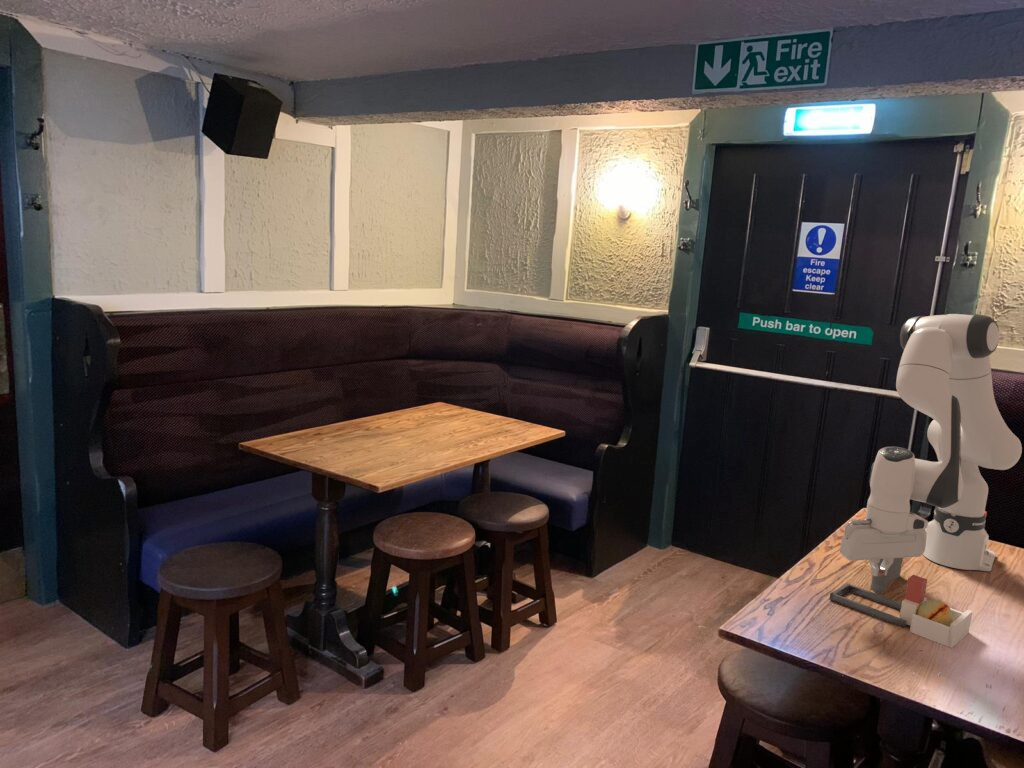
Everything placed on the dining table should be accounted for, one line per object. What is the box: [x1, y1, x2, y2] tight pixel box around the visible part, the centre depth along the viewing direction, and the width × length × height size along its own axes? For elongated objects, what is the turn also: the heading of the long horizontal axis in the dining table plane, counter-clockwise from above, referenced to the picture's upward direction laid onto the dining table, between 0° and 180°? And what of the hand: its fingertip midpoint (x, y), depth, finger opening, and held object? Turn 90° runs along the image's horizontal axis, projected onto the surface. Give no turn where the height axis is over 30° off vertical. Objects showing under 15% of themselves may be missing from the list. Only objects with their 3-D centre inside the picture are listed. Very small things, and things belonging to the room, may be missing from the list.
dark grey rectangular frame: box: [829, 583, 907, 629], centre depth 181 cm, size 9×17×2 cm, turn 43°
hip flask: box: [869, 558, 903, 594], centre depth 194 cm, size 16×4×20 cm, turn 138°
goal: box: [909, 607, 973, 649], centre depth 170 cm, size 11×8×5 cm
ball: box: [917, 599, 954, 627], centre depth 171 cm, size 7×7×7 cm
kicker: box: [899, 574, 928, 627], centre depth 174 cm, size 6×3×10 cm, turn 133°
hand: (878, 574), depth 180 cm, fingers closed
